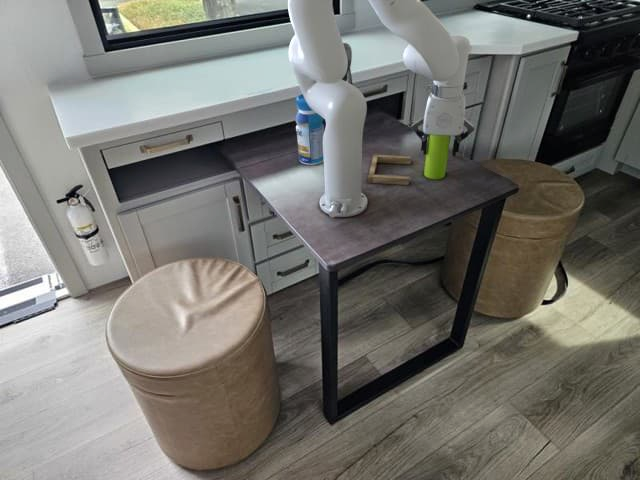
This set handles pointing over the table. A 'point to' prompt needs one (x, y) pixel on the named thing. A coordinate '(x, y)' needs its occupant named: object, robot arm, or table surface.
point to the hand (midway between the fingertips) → (439, 153)
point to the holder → (388, 178)
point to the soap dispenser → (436, 156)
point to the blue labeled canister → (309, 133)
